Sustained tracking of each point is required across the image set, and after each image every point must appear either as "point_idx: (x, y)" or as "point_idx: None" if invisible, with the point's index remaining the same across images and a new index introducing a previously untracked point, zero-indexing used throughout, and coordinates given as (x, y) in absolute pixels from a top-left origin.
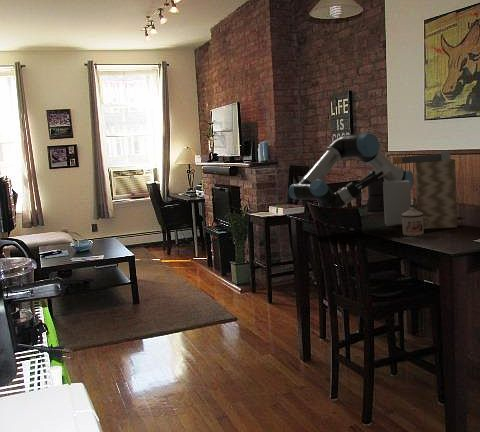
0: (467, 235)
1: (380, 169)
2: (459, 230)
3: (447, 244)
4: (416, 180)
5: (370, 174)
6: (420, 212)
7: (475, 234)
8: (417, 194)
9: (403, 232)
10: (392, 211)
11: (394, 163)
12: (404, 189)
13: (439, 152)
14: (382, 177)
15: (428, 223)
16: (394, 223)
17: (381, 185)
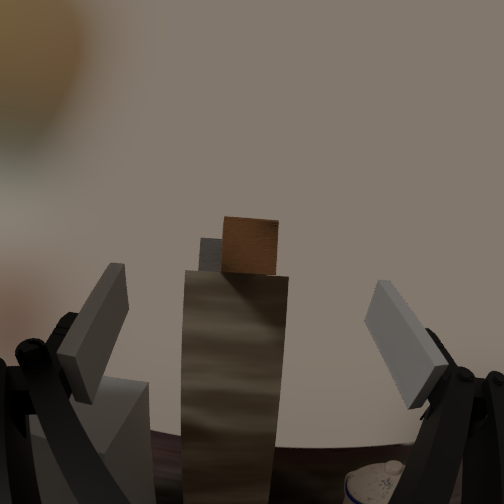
0: (362, 454)
1: (100, 323)
2: (300, 465)
3: (461, 460)
4: (217, 367)
5: (35, 410)
6: (381, 464)
7: (348, 447)
8: (235, 429)
9: None
10: None
11: (275, 269)
12: (143, 430)
13: (216, 243)
14: None
15: (344, 488)
16: None
17: None
